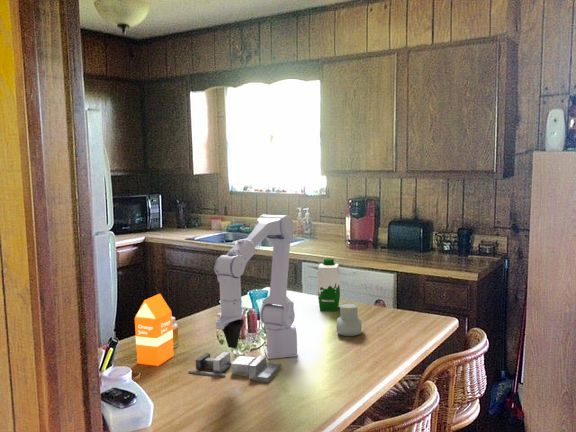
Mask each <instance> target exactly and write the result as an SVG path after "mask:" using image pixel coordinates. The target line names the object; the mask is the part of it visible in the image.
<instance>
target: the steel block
mask: <svg viewBox="0 0 576 432" xmlns="http://www.w3.org/2000/svg"><path fill="white" fill-rule="evenodd" d="M255 359H256V357H255V356H254V357H253V356H245V355H244V356H243V355H239V356H238V357H237V358H236V359H234V361H231V362H232V363H231V365H230V366H231V375H232V376H233V375H234V376H243V377H249V365H250V364H251V363H252V362H253V361H254V360H255Z"/></svg>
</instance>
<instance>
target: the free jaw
mask: <svg viewBox="0 0 576 432" xmlns="http://www.w3.org/2000/svg"><path fill="white" fill-rule="evenodd" d="M231 362H232V361H231V352H230V351H223V352H221V354H219V355H217V356H216V357H215V358H213V357H211V353H209V352H205V353H203V354H202V355H201V356H199V357H197V358H196V359H195V371H202V370H204V369H209V370H213V373H219V374H223V372H224V371H225V370H227V369H228V368H229V367H230V366H231Z"/></svg>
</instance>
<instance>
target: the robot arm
mask: <svg viewBox="0 0 576 432" xmlns="http://www.w3.org/2000/svg"><path fill="white" fill-rule="evenodd" d="M294 226H295V223H294V221H293V219H292V217H291V216H290V215H289V214H285V215H282V214H276V215H275V214H265V213H264V214H261V215H260V216H259V217H258V218H257V219H256V225H255V227H254V228H253V229H252V231H251V232H250V233H249V235H248V236H247V237H246V238H242V239H238V240H237V241H236V243H235V245H233V247H231V248H230V250H228V252H227V253H226V254H221V255H220V256H218V257H217V259H215V262H214V267H213V270H214V273H215V275H216V279H217V283H219V299H220V302H219V303H220V304H219V305H220V312H218V313H217V314H216V315H217V317H218V319H217V320H216V322H215V327H216V328H215V329H216V330H222V332H223V334H224V337H225V340H226V343H227V346H228V348H232V349H235V348H237V347H238V343H239V339H240V334H241V331H242V328H243V325H244V324H245V321H244V320H245V319H242V318H243V316H245V315H247V309H246V307H242V306H243V305H242V284H241V276H243V274H244V272H245V269H246V266H247V264H248V263H247V262H249V260H250V259H252V257H253V256H254V255H255V253H256V247H257V246H258V245H259V244H260V243H261V242H263V241H264V240H265V239H266V240H267V241H269V242H271V244H272V246H273V247H272V258H271V259H272V261H271V274H270V286H269V287H270V288H269V295H268V296H266V297H265V298H264V299H263V300H262V303H261V304H262V305H261V309H260V310H259V311H260V312H259V319H260V321H261V323H263V327H265V328H266V329H265V331H266V333H265V335H266V348H264V349H263V350H264V353H265V356H266V359H267V360H268V359H269V360H271V359H281V358H293V357H298V356H299V355H298V338H297V337H298V335H297V328H296V325H294V321H295V318H296V317H295V314H296V313H295V310H294V309H295V307H294V301H292V300H291V299H290V298H289V296H287V289H288V277H289V266H290V265H289V264H290V251H291V248H290V247H291V242H293V238H294Z"/></svg>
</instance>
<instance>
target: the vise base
mask: <svg viewBox="0 0 576 432" xmlns="http://www.w3.org/2000/svg"><path fill="white" fill-rule="evenodd" d="M267 360H268V359H267V356H266V355H261V354H259V356H258V357H255V360H254V361H253V362H252V363H251V364H250V365H249V376H248V377H249V380H254V382H257V383H263V384H265V383H266V384H268V383H270V381H271V380H272V379H273V378H275V376H276V375H277V374H278V373H279V372H280V371H281V369H282V367H281V366H282V365H281V363H271V362H267ZM232 362H233V361H231V363H232ZM188 373H189V374H194V373H196V375H197V374H198V375H202V374H203V375H205V376H210V375H211V376H213V377H220V378H226V374H225V373H221V374H219V373H214V372H209V371H202V370H196V369H195V370H192V369H189V370H188Z"/></svg>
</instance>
